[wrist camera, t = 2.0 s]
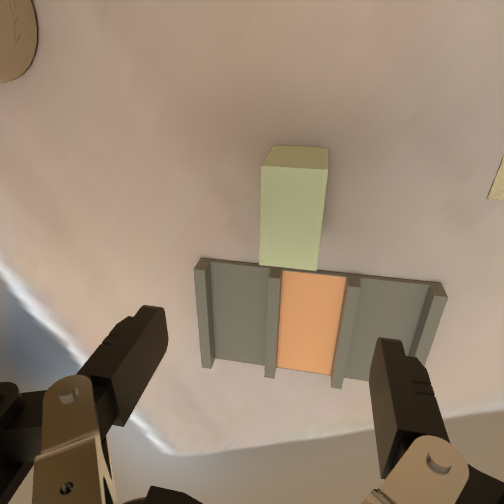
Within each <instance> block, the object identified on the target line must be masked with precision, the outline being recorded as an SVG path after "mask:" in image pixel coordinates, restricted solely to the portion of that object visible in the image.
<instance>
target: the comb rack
mask: <svg viewBox="0 0 504 504" xmlns="http://www.w3.org/2000/svg"><path fill="white" fill-rule="evenodd" d="M194 279H195V291H196V303H197V315H198V327H199V339H200V351H201V363H202V367H203V368H209V369H211V368H212V365H213V363H214V360H215V358H217V359H224V360H231V361H237V362H244V363H251V364H257V365H264V366H265V377H267V378H275V372H276V367H277V368H284V369H291V370H297V371H304V372H310V373H317V374H324V375H330V376H331V388H338V389H341V388H342V383H343V378H350V379H357V380H364V381H369V373H370V366H371V362H372V358H373V354H374V350H375V346H376V341H377V339H378V337H383V338H391V339H398V340H401V341H402V343H403V347H404V351H405V355H406V356H411V357H417V358H418V360H419V361H420V362H421V363H422V365H423V366H424V365H425V363H426V360H427V357H428V354H429V351H430V348H431V345H432V342H433V339H434V336H435V333H436V331H437V328H438V325H439V322H440V319H441V316H442V313H443V310H444V307H445V304H446V301H447V299H448V296H447V294H446V292H445V290H444V288H443V286H442V284H441V283H435V282H425V281H416V280H406V279H396V278H387V277H377V276H368V275H358V274H348V273H339V272H329V271H320V270H317V271H313V270H303V269H294V268H284V267H274V266H265V265H259V264H253V263H243V262H233V261H224V260H214V259H205V258H201V259H200V260H199V262H198V263H197V265H196V266H195V268H194Z"/></svg>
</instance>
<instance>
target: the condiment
mask: <svg viewBox="0 0 504 504" xmlns="http://www.w3.org/2000/svg"><path fill="white" fill-rule="evenodd" d="M488 198H489V199H497V200H504V156H503V160H502V163H501V166H500V168H499V171H498V173H497V175H496V177H495V180H494V183H493V186H492V188H491V191H490V193H489V196H488Z"/></svg>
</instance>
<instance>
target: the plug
mask: <svg viewBox="0 0 504 504" xmlns="http://www.w3.org/2000/svg"><path fill="white" fill-rule="evenodd" d="M327 176H328V148H318V147H298V146H278V145H274V146H273V148H272V149H271V151H270V152H269V154H268V156H267V157H266V159H265V161H264V162H263V164H262V165H261V197H260V242H259V265H265V266H274V267H284V268H294V269H303V270H313V271H317V263H318V254H319V246H320V237H321V228H322V220H323V211H324V202H325V194H326V185H327Z"/></svg>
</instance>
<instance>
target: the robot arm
mask: <svg viewBox="0 0 504 504" xmlns="http://www.w3.org/2000/svg"><path fill="white" fill-rule="evenodd" d="M36 44H37V25H36V19H35V13H34V9H33V6H32V3H31V0H0V82H6V81H9V80H13V79H15V78H17V77H19V76H20V75H22V74H23V73H24V72H25V71H26V69H27V68H28V67H29V66H30V63H31V61H32V59H33V57H34V54H35V49H36ZM167 346H168V331H167V324H166V317H165V311H164V308H162V307H156V306H148V305H143V306H142V307H141V308H140V309H139V311H138V312H137V313H136V314H135V316H134V317H130V316H128V317H127V318H125V319H124V320H122V321H121V322H119V323H118V324H116V326H115V327H114V328H113V329H112V331H111V332H110V333H109V336H107V337H106V338H105V339H104V340H103V342H102V344H100V345H99V347H98V348H97V349H96V350H95V352H94V353H93V354H92V355H91V357H90V358H89V359H88V360H87V362H86V363H85V364H84V365H83V367H82V368H81V369H80V370H79V372H78V373H77V374H76V375H71V376H67V377H64V378H62V379H60V380H58V381H57V382H55V383H54V384H53V385H51V386H50V387H49V388H48V390H44V391H35V392H27V393H20V391H19V389H18V387H17V385H16V384H14V383H11V382H0V504H8V502H9V501H10V499H11V498H12V496H13V495H14V493H15V492H16V490H17V489H18V487H19V486H20V484H21V483H22V481H23V480H24V478H25V477H26V476H27V474H28V473H29V471H30V470H31V468H32V467H33V465H34V472H33V493H32V504H118V500H117V495H116V491H115V484H114V477H113V470H112V463H111V456H110V449H109V443H108V436H107V432H108V431H109V429H110V428H111V426H112V425H116V426H122V427H124V425H125V424H126V422H127V420H128V419H129V417H130V415H131V413H132V411H133V410H134V408H135V406H136V404H137V402H138V401H139V399H140V397H141V395H142V394H143V392H144V390H145V388H146V386H147V385H148V383H149V381H150V379H151V377H152V376H153V374H154V372H155V370H156V369H157V367H158V365H159V363H160V361H161V360H162V358H163V356H164V354H165V352H166V350H167ZM369 387H370V395H371V403H372V411H373V419H374V427H375V435H376V443H377V451H378V459H379V466H380V475H381V479H385V481H384V482H383V483H382V485H381V486H380V487H379V488H378V489H377V490H376V489H374V490H372V491H371V492H370V493H369V494H368V496H367V497H366V498H365V500H364V501H363V502H362V504H504V482H502V481H499V480H497V479H495V478H493V477H491V476H488V475H487V474H484V473H482V472H480V471H478V470H476V469H475V468H473V467H472V466H470V465H469V464H468V463H466V461H465V459H464V457H463V456H462V454H461V453H460V452H459V451H458V450H457V449H456V448H455V447H454V446H452V445H451V443H450V441H449V438H448V435H447V432H446V429H445V426H444V423H443V419H442V416H441V413H440V410H439V407H438V404H437V400H436V397H434V395H435V394H434V391H433V388H432V386H431V382H430V378H429V375H428V372H427V369H426V368H425V367H424V366H423V365H422V363H421V362H420V361H419V360H418V358H417V357H411V356H406V355H405V351H404V347H403V343H402V341H401V340H398V339H391V338H383V337H378V339H377V341H376V346H375V350H374V354H373V358H372V362H371V366H370V373H369ZM123 504H202V503H201V502H199V501H197V500H196V499H194V498H192V497H191V496H189V495H187V494H185V493H183V492H178V491H174V490H169V489H165V488H160V487H156V486H151V487H150V489H149V491H148V494H147V496H146V497H143V498H138V499H133V500H131V501H128V502H125V503H123Z"/></svg>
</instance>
